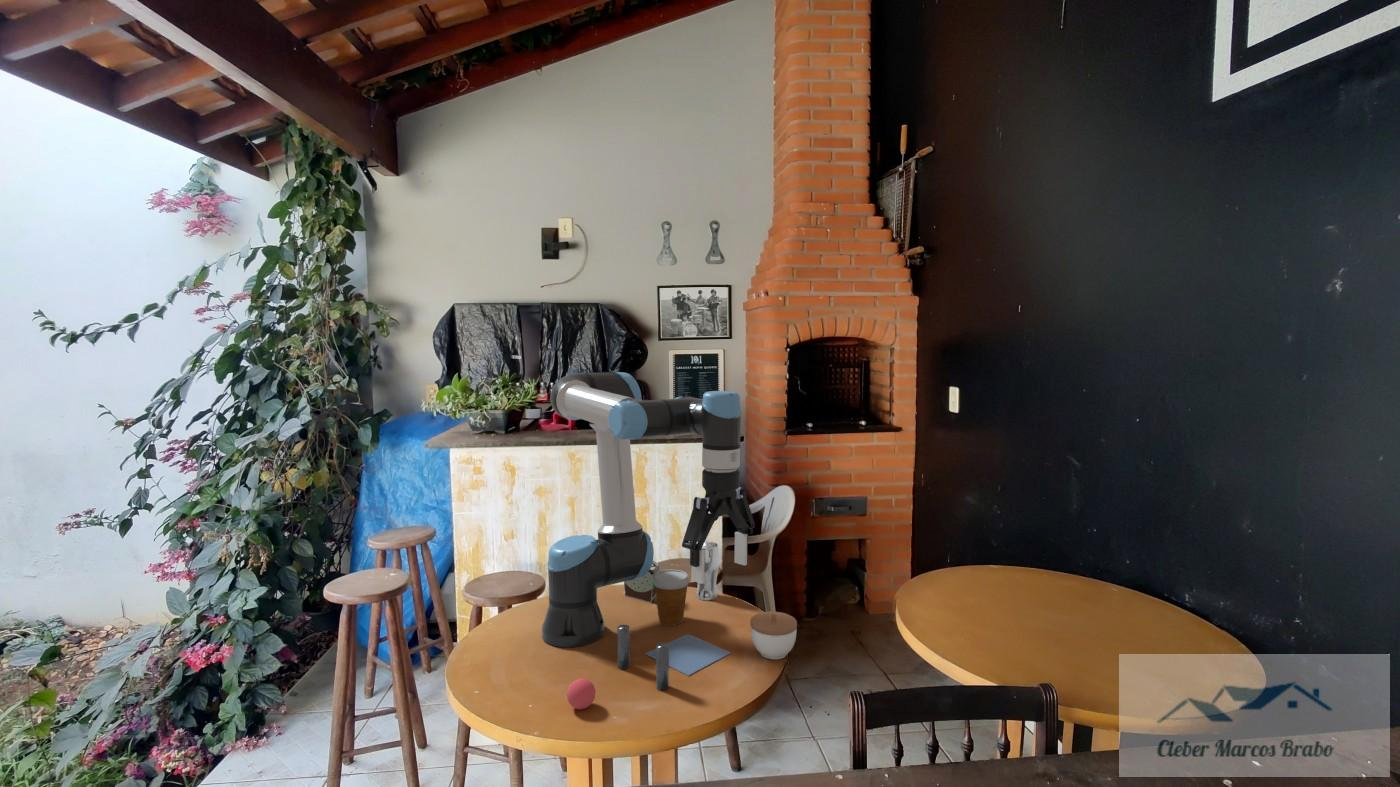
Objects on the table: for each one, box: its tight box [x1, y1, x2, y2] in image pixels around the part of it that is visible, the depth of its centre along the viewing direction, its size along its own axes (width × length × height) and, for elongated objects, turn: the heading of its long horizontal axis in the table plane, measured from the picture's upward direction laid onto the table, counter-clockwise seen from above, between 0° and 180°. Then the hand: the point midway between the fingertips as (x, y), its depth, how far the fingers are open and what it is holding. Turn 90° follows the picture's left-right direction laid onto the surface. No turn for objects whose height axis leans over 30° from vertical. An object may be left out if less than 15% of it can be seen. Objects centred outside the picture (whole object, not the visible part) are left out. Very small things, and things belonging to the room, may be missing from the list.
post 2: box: [655, 642, 670, 692], centre depth 132 cm, size 3×3×9 cm
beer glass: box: [695, 540, 720, 602], centre depth 180 cm, size 7×7×15 cm
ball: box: [566, 678, 596, 710], centre depth 125 cm, size 6×6×6 cm
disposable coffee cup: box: [653, 568, 690, 626], centre depth 164 cm, size 10×10×12 cm
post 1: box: [617, 624, 630, 671], centre depth 140 cm, size 3×3×9 cm
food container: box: [623, 560, 661, 604], centre depth 181 cm, size 12×6×10 cm, turn 58°
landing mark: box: [645, 633, 732, 677], centre depth 147 cm, size 14×14×1 cm
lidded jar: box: [749, 611, 798, 660], centre depth 147 cm, size 11×11×9 cm
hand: (720, 572), depth 128 cm, fingers open, 13 cm apart
